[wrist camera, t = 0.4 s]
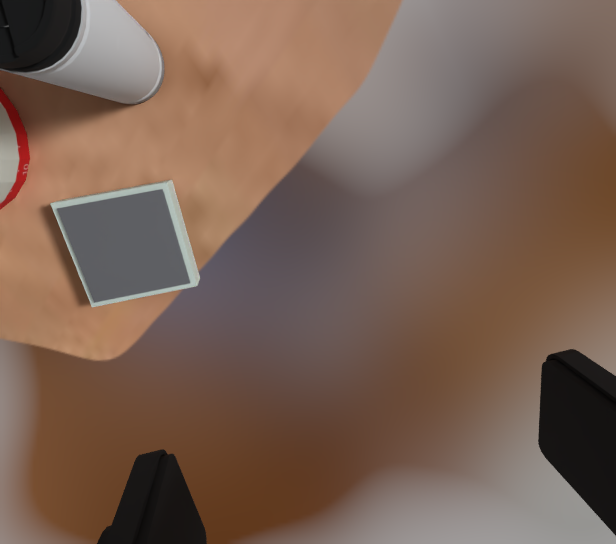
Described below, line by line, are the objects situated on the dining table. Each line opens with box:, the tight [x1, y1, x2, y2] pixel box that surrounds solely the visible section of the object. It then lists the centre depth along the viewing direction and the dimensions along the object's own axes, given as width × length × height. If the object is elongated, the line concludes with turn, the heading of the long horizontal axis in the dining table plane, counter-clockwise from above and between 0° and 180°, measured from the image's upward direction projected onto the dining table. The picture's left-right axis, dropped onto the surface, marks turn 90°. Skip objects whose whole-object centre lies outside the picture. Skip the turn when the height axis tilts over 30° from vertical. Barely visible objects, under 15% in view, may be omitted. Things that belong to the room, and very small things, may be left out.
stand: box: [50, 180, 200, 307], centre depth 36 cm, size 10×10×2 cm
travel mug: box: [0, 0, 164, 104], centre depth 23 cm, size 6×7×20 cm
